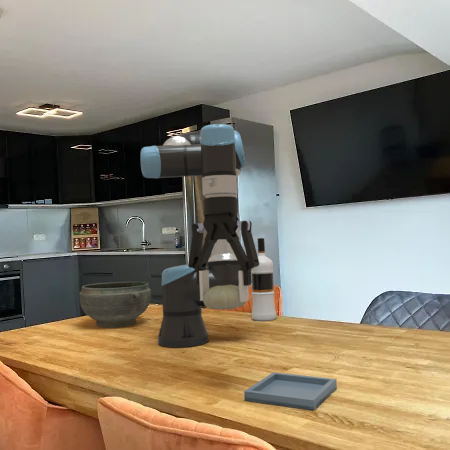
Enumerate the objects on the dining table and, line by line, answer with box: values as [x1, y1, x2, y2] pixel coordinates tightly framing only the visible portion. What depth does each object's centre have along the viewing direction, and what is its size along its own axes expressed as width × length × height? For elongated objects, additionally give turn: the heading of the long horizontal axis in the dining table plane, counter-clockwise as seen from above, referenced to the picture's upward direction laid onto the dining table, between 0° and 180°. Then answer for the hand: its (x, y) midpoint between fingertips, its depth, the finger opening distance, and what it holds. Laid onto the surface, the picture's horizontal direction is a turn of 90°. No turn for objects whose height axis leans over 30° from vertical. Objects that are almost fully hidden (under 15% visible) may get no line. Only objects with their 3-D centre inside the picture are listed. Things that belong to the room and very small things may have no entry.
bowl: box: [79, 281, 152, 329], centre depth 189 cm, size 32×26×15 cm
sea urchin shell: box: [203, 285, 247, 311], centre depth 109 cm, size 9×8×8 cm
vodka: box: [251, 237, 278, 322], centre depth 187 cm, size 9×9×30 cm
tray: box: [243, 372, 338, 411], centre depth 100 cm, size 14×14×2 cm
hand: (224, 300), depth 109 cm, fingers closed on sea urchin shell, 9 cm apart
